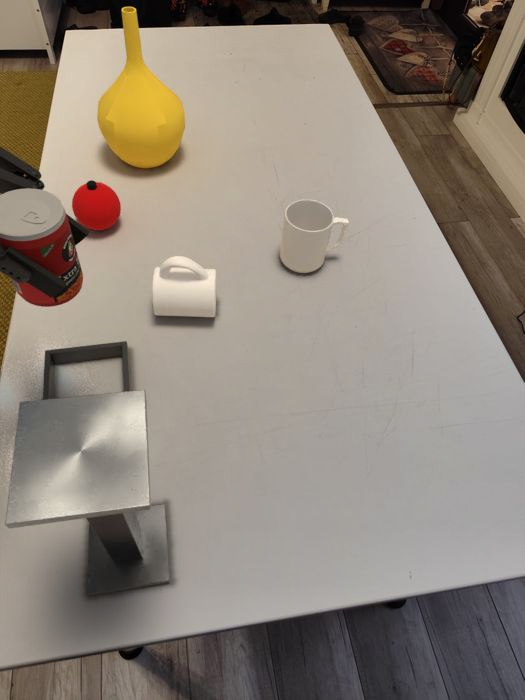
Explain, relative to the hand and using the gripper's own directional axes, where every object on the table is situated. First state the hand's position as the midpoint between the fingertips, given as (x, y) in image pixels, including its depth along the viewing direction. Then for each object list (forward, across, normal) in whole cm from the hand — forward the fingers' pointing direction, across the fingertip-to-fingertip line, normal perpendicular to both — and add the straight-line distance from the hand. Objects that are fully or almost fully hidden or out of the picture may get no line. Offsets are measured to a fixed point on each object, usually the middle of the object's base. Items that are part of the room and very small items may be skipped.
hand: (71, 263), depth 59 cm
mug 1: (+26, -19, -14) cm, 35 cm away
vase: (+14, -62, -26) cm, 69 cm away
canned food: (+1, 0, -5) cm, 5 cm away
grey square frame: (+18, 0, -22) cm, 28 cm away
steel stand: (+26, +23, -14) cm, 37 cm away
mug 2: (+41, -35, +1) cm, 54 cm away
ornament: (+11, -38, -28) cm, 49 cm away
